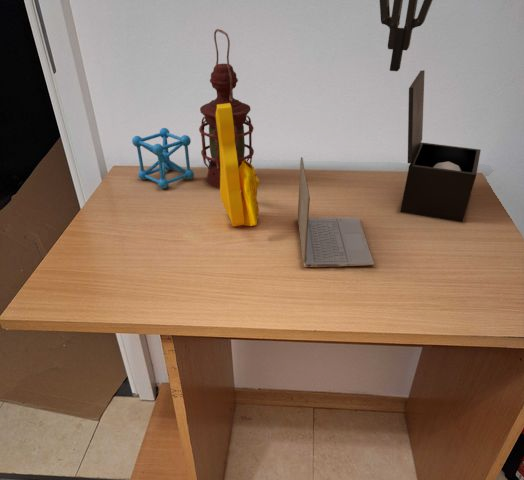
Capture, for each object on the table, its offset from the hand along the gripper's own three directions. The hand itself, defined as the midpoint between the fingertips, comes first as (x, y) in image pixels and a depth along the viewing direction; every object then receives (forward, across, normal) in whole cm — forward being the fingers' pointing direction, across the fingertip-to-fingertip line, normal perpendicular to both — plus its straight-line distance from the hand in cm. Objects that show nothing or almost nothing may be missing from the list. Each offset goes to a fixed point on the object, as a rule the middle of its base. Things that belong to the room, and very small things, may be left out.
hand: (394, 69), depth 92 cm
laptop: (+25, +3, +25) cm, 35 cm away
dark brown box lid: (+8, -6, 0) cm, 10 cm away
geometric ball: (+24, -14, -1) cm, 28 cm away
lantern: (+25, +34, +5) cm, 42 cm away
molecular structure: (+25, +48, +10) cm, 55 cm away
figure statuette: (+25, +23, +23) cm, 41 cm away
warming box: (+25, -13, 0) cm, 28 cm away
